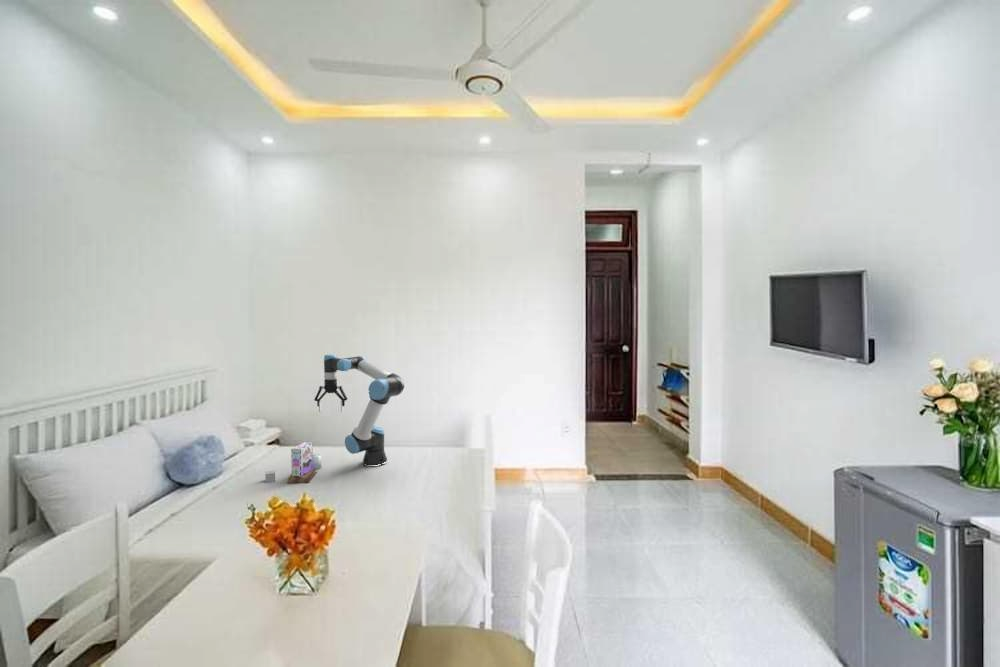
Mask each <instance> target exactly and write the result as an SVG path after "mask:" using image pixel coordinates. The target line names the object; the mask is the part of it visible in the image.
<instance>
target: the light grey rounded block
mask: <svg viewBox="0 0 1000 667" xmlns="http://www.w3.org/2000/svg"><path fill="white" fill-rule="evenodd" d="M313 468H316V471H318V470H321V469H322V454H320V453H313Z"/></svg>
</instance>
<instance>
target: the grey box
mask: <svg viewBox="0 0 1000 667" xmlns="http://www.w3.org/2000/svg"><path fill="white" fill-rule="evenodd" d="M264 475H265V484H267V483H273V482H275V483H276V471H275V470H268V471H267V470H266V471H265V472H264Z"/></svg>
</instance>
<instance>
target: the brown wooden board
mask: <svg viewBox="0 0 1000 667" xmlns="http://www.w3.org/2000/svg"><path fill="white" fill-rule="evenodd" d="M317 473H318V472H317V470H316V468H313V470H311V471H309V472H308V473H306V474H305V475H303V476H301V477H295V476H292V473H291V474H290V475H289V476H288V477H287V482H286V484H309V483H310V482H311V481H312V480H313V478H314V477H315V476H316V474H317Z"/></svg>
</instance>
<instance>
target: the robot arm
mask: <svg viewBox="0 0 1000 667" xmlns="http://www.w3.org/2000/svg"><path fill="white" fill-rule="evenodd" d="M355 369H356V370H357V371H359V372H361V373H363V374H365V375H366V376H369V377H371V378H372V379H374V380H373V381H371V383H370V384H369V386H368V397H369V401H368V403H367V405H366V408H365V410H364V411H363V415H362V417H361V419H360V421H359V423H358V425H357V427H355V428H353V430H352V432H351V434H348V435H346V436H345V438H344V446H345V449H346V450H347V452H348V453H349V454H352V455H353V454H358V453H362V452H364V455H363V458H362V464H366V465H378V464H382V463H384V462H386V461H387V462H388V457H387V454H386V452H385V430H384V428H383V427H381V426H375V424H376V422H377V421H378V418H379V416H380V415H381V414H380V413H381V412H382V410H383V408H384V405H387V404H388V403H389V401H390V399H391V398H392V397H396V396H398V395H399V396H400V395H401V394H402V393H403V391H404V389H405V381H404V380H403V378H402V377H401V376H400V375H398V374H396V373H394V372H388V371H387V370H385V369H382V368H380V367H378V366H377V365H375V364H373V363H371V362H369V361H368V360H367V359H366V357H365V356H363V355H362V356H359V355H357V356H352V357H344V358H341V357H339V358H337V355H336V354H335V353H330V354H329V353H328V354H325V355H324V357H323V370H324V377H323V378H324V386H323V385H320V386H318V391H317V393H316V396H315V397H314V399H313V400H314V402H315V401H316V403H317V404H316V405H317V407H318V413H321V412H322V399H323V398H324V397H325V395H326V394H327V393H328V394H335V395H336V396H337V397H338V398H339V399H340V412H341V413H342V412H343V411H344V407H345V401H347V400H348V397H347V395H346V393H345V390H343V386H342V385H338V382H337V381H338V379H337V377H338V376H337V372H338V371H340V372H348V371H349V370H355ZM323 390H324V391H323ZM338 390H339V391H338ZM322 391H323V393H322ZM339 392H340V393H339ZM321 393H322V394H321ZM319 396H320V397H319Z"/></svg>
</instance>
